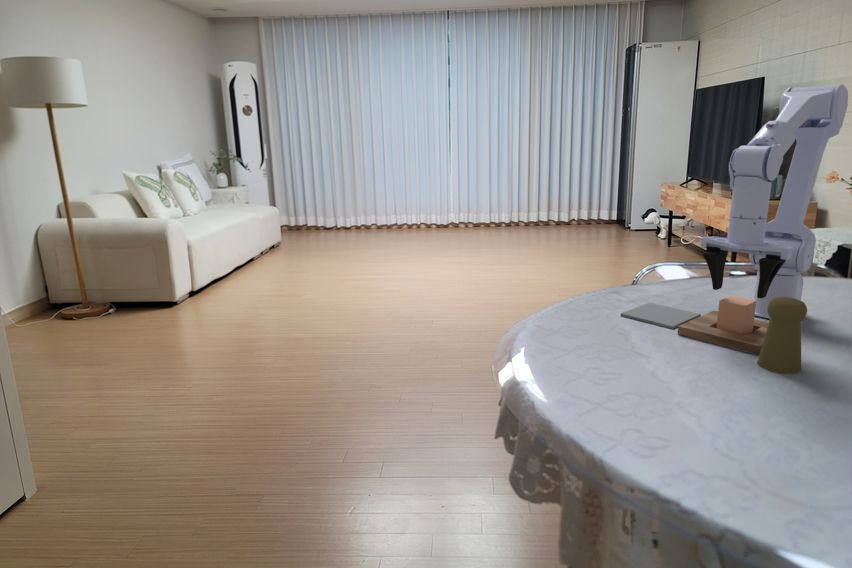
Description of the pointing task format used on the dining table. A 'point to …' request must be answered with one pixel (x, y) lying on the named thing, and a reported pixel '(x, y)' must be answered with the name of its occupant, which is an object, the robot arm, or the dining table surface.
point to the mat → (661, 315)
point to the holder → (724, 333)
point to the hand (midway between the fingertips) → (738, 292)
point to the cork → (783, 336)
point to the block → (736, 315)
